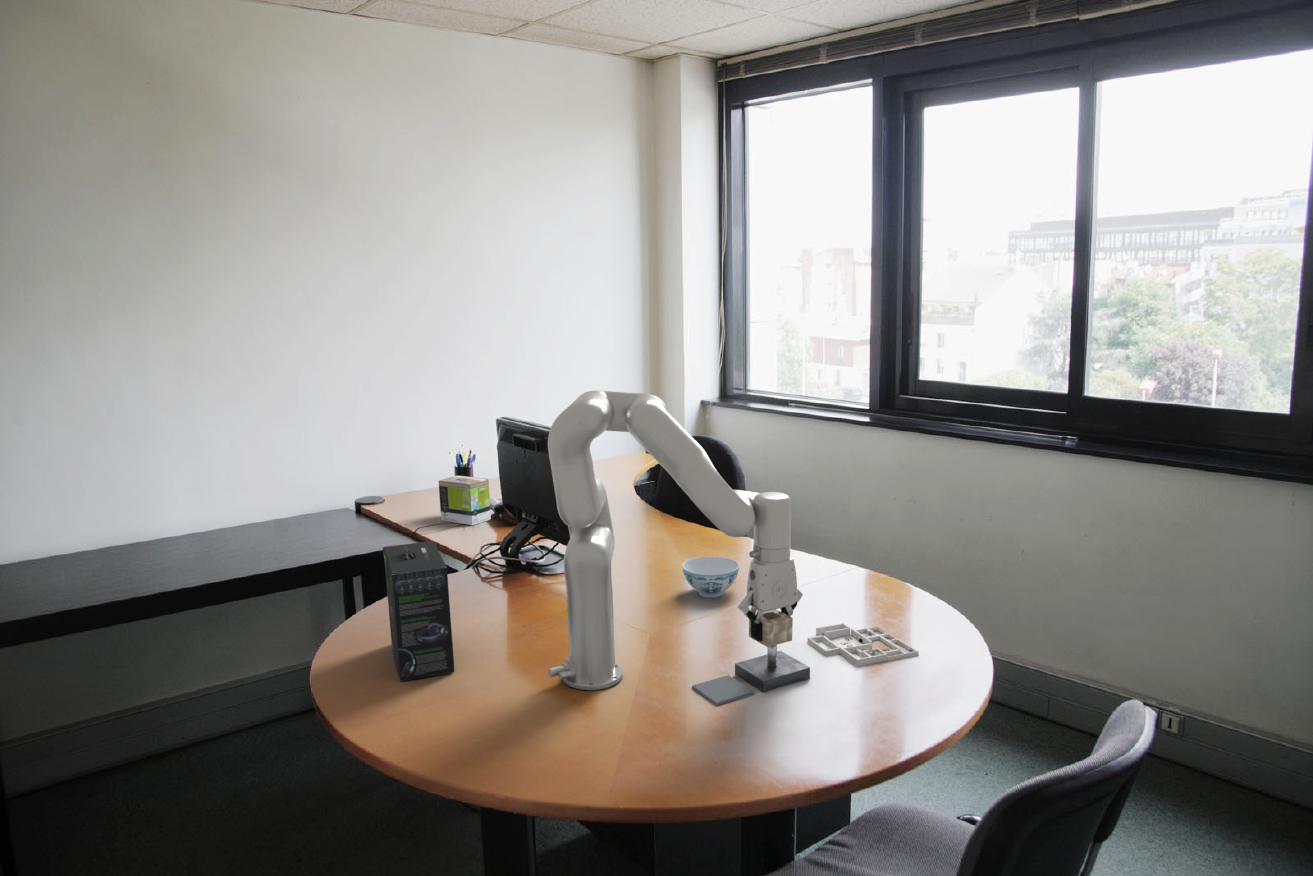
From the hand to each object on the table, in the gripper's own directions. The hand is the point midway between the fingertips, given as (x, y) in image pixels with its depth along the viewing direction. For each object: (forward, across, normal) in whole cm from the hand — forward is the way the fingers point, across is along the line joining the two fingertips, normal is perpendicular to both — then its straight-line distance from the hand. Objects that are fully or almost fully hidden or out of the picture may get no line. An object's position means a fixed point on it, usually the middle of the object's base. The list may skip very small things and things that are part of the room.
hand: (770, 635), depth 190 cm
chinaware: (+10, +17, +49) cm, 53 cm away
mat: (+9, -12, 0) cm, 15 cm away
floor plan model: (+10, +23, +2) cm, 25 cm away
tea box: (+11, -14, +157) cm, 158 cm away
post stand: (+9, 0, 0) cm, 9 cm away
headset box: (+11, -60, +50) cm, 78 cm away
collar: (+1, 0, 0) cm, 1 cm away
